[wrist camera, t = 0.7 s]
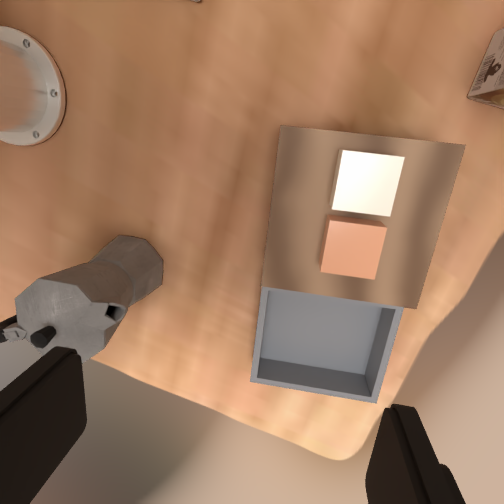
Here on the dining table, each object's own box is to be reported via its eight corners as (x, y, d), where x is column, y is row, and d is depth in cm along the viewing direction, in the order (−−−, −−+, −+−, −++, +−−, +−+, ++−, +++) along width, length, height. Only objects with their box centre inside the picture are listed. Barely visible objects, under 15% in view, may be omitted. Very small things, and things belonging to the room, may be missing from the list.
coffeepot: (165, 222, 43) (81, 277, 26) (188, 288, 46) (124, 376, 29) (63, 247, 46) (-72, 311, 29) (90, 308, 49) (-20, 398, 32)
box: (254, 357, 48) (250, 381, 43) (265, 267, 43) (262, 283, 39) (368, 376, 47) (376, 403, 42) (392, 285, 42) (404, 304, 37)
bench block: (266, 260, 43) (260, 286, 35) (283, 127, 38) (280, 125, 30) (394, 278, 42) (416, 309, 34) (430, 143, 36) (465, 144, 29)
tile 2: (329, 204, 32) (332, 209, 29) (339, 149, 30) (342, 150, 28) (383, 210, 31) (390, 216, 29) (396, 155, 30) (404, 157, 27)
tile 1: (318, 262, 34) (320, 272, 31) (327, 214, 32) (329, 220, 30) (368, 269, 33) (374, 279, 31) (380, 221, 32) (387, 227, 29)
